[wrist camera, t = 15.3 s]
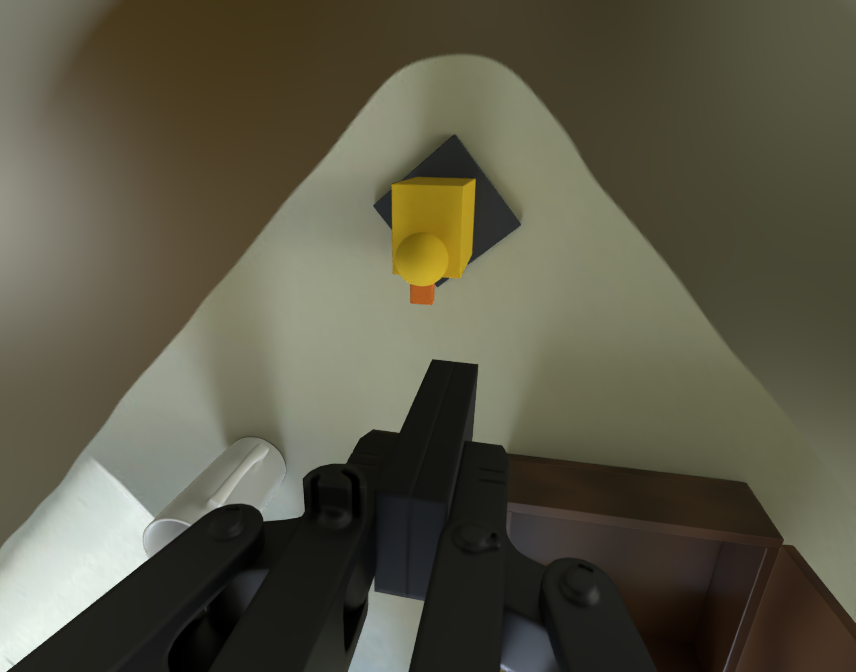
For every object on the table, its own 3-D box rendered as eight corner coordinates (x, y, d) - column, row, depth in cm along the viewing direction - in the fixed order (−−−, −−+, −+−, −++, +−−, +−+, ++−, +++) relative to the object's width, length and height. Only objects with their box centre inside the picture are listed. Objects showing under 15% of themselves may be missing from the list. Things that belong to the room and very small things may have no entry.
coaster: (455, 134, 35) (454, 134, 34) (521, 224, 36) (521, 225, 36) (374, 205, 38) (372, 205, 37) (438, 285, 39) (437, 287, 39)
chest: (491, 605, 50) (487, 666, 44) (505, 452, 43) (501, 500, 38) (697, 641, 47) (721, 711, 41) (746, 482, 40) (784, 539, 34)
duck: (475, 178, 35) (457, 190, 26) (471, 273, 38) (452, 314, 28) (416, 176, 36) (377, 187, 26) (415, 269, 38) (379, 309, 29)
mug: (271, 501, 51) (201, 598, 40) (217, 465, 50) (131, 553, 39) (315, 438, 47) (250, 527, 36) (257, 398, 46) (173, 476, 35)
